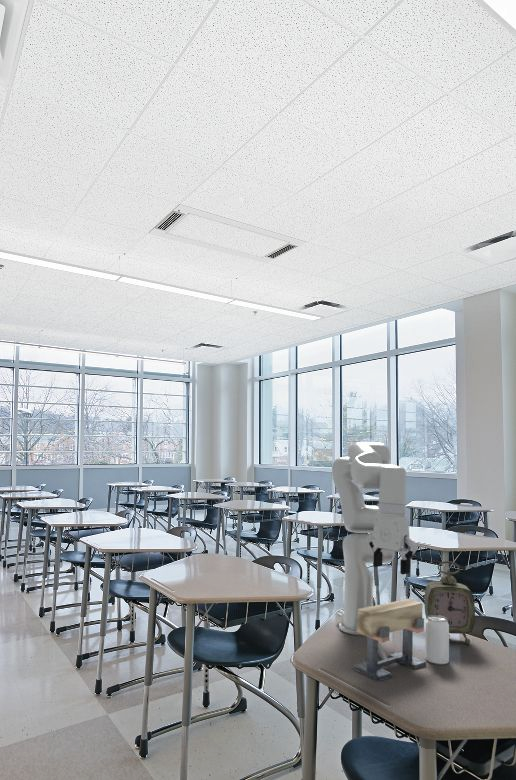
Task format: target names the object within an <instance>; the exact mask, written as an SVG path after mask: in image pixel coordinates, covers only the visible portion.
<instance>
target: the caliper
mask: <svg viewBox="0 0 516 780" xmlns="http://www.w3.org/2000/svg"><path fill="white" fill-rule="evenodd" d="M378 655H379V656H380V659H381V660H385V659H388V658H389V657H388V656H387V655H386V653H385V651H384V649H383V647H382V645H381V642H379V641H378Z"/></svg>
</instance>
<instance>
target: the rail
mask: <svg viewBox="0 0 516 780" xmlns="http://www.w3.org/2000/svg"><path fill="white" fill-rule="evenodd" d="M417 618H423V602H421V601H417V600H414V599H411V598H406V599H405V598H404V599H401V600H395V601H391V602H387V603H385V602H384V603H382V604H377V605H373V606H371V607H366V608H361V609H358V617H357V632H359V633H361V634H364V635H366V636H365V637H367V636H369V637H375V636H379V628H380V627H384V626H388V627H390V633H394V632H399V631H403V629H406V628H410V627H414V620H415V619H417ZM390 633H389V634H390ZM364 635H363V636H364Z"/></svg>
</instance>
